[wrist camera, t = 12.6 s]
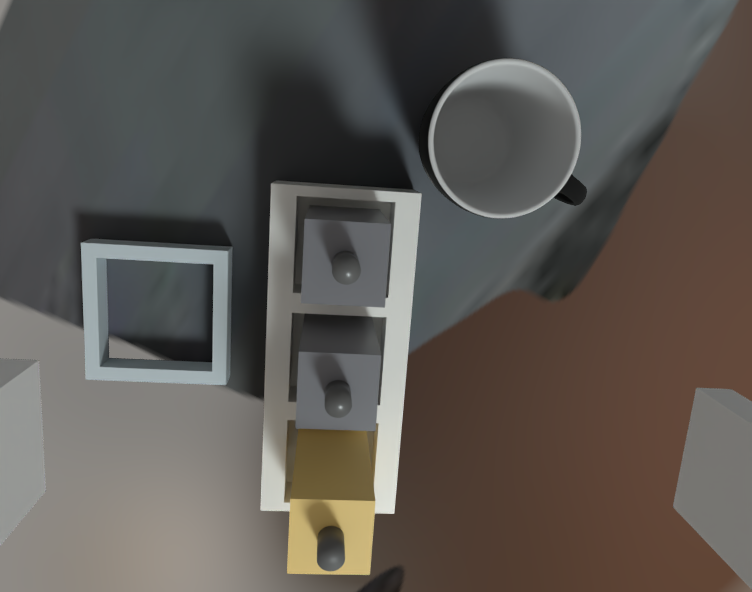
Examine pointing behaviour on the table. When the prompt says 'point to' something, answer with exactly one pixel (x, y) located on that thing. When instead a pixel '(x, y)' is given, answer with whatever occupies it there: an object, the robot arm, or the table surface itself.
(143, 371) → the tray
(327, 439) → the plug
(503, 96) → the mug
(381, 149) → the table surface
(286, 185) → the strip
